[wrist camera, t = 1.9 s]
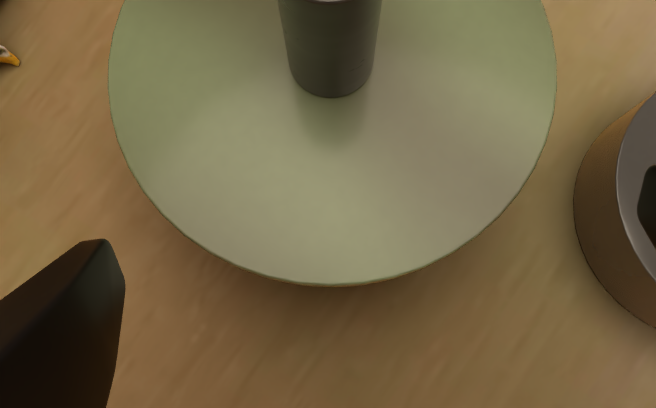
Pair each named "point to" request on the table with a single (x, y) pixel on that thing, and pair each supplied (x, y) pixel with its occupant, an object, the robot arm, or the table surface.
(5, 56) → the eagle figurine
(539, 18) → the lid
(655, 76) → the table surface
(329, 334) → the table surface
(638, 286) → the disc
